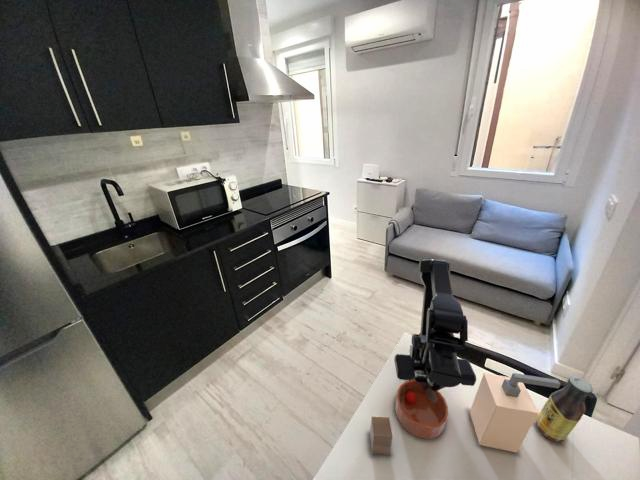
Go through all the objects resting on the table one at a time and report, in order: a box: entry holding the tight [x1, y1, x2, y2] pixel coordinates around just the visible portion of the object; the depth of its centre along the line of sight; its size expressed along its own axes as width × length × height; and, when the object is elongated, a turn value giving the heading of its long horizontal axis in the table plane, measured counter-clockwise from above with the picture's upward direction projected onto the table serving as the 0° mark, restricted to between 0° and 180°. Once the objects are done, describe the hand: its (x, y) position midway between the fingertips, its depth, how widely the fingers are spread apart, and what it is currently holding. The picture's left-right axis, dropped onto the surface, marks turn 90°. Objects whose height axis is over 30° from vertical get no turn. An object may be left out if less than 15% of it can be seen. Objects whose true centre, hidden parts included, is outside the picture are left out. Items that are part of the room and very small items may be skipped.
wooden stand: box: [369, 416, 393, 456], centre depth 65 cm, size 4×4×8 cm
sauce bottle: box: [535, 375, 594, 443], centre depth 64 cm, size 7×6×20 cm
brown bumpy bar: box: [425, 374, 437, 404], centre depth 70 cm, size 8×2×2 cm
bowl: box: [394, 379, 449, 440], centre depth 72 cm, size 13×13×5 cm
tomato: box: [405, 391, 416, 404], centre depth 75 cm, size 3×3×3 cm
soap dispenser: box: [469, 372, 562, 453], centre depth 64 cm, size 13×9×22 cm
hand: (428, 389), depth 70 cm, fingers closed on brown bumpy bar, 2 cm apart
